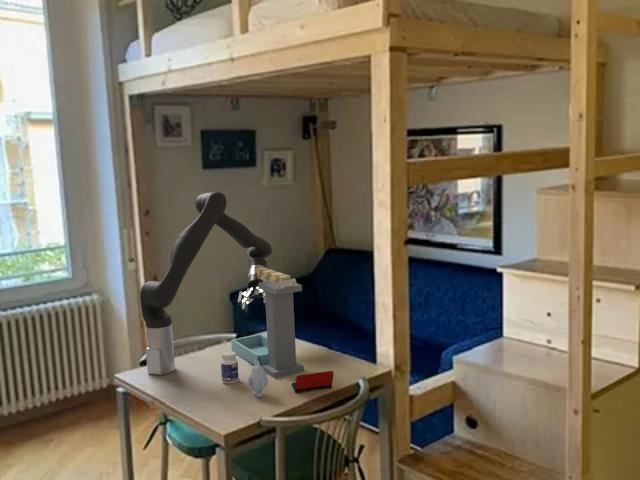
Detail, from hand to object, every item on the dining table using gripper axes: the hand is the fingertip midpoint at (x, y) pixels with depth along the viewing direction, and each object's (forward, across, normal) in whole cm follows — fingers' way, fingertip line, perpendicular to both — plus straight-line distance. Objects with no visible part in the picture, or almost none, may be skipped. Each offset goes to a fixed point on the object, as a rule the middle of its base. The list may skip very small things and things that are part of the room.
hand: (255, 308), depth 243 cm
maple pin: (+5, +14, -15) cm, 21 cm away
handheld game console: (+40, +21, +5) cm, 46 cm away
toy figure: (+44, +5, -3) cm, 44 cm away
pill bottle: (+32, -8, +1) cm, 33 cm away
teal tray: (+11, -4, +15) cm, 19 cm away
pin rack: (+25, +8, +10) cm, 28 cm away
